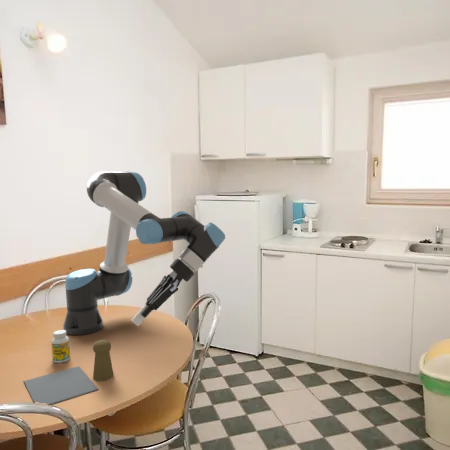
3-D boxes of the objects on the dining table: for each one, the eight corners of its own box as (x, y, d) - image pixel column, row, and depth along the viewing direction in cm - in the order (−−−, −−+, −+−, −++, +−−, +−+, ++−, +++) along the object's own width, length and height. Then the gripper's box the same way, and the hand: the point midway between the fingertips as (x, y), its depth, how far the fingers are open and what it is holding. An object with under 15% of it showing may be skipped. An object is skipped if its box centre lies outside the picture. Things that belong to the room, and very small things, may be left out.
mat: (23, 382, 119) (23, 381, 119) (78, 366, 128) (78, 365, 128) (37, 408, 104) (37, 407, 104) (98, 389, 114) (98, 388, 114)
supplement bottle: (71, 355, 137) (69, 328, 136) (68, 362, 132) (67, 334, 131) (54, 357, 136) (52, 329, 135) (51, 364, 131) (49, 335, 130)
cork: (107, 382, 118) (106, 346, 117) (89, 380, 120) (87, 344, 118) (117, 372, 124) (115, 338, 123) (99, 370, 125) (97, 336, 124)
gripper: (200, 276, 122) (146, 337, 118) (190, 268, 134) (141, 323, 130) (182, 261, 119) (127, 322, 116) (173, 254, 132) (123, 309, 128)
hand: (134, 323), depth 123 cm, fingers closed
